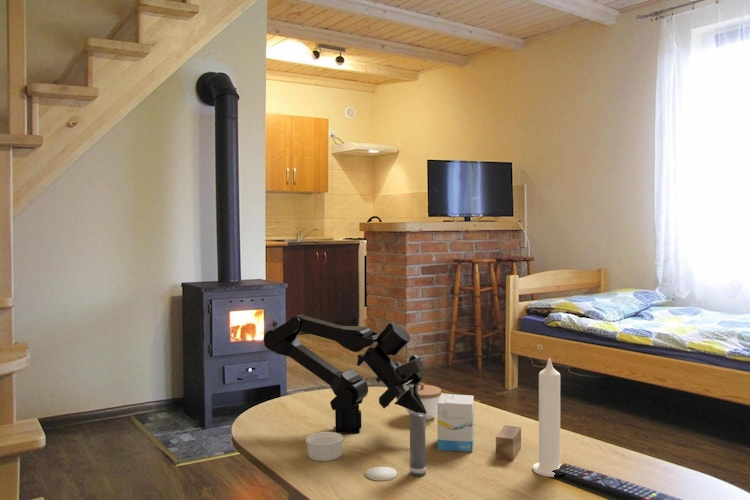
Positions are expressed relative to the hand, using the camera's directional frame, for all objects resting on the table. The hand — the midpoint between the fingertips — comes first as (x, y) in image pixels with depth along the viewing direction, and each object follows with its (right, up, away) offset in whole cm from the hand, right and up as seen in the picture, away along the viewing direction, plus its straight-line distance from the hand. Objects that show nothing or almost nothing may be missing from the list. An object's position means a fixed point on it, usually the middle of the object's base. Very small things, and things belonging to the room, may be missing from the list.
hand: (425, 414), depth 158 cm
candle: (+26, -8, -20) cm, 33 cm away
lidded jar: (+1, -6, +20) cm, 21 cm away
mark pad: (-11, -8, -20) cm, 25 cm away
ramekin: (-24, -8, -9) cm, 27 cm away
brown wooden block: (+19, -7, -8) cm, 22 cm away
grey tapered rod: (-3, -8, -20) cm, 22 cm away
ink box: (+7, -7, -3) cm, 11 cm away
